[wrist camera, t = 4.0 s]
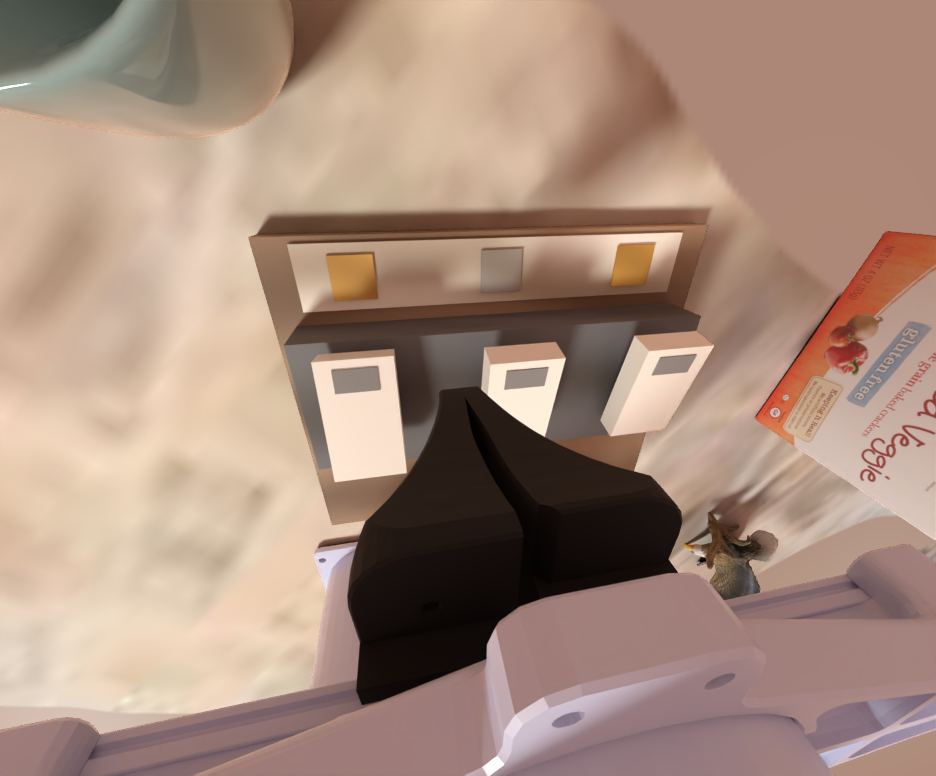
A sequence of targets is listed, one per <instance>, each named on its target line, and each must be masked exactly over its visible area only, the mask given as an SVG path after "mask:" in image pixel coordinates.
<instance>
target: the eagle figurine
mask: <svg viewBox="0 0 936 776" xmlns="http://www.w3.org/2000/svg"><path fill="white" fill-rule="evenodd" d="M708 521H709V522H708V527H709V528H708V529H709V531H710V533H711V535H712V541H713V542H712V543H708V544H704V545H697V544H696V545H687V544H684V545H683V546H685V547H686V548H688V549H689V550H690V551H691V553H693V554H696V555H699V556H702V557H705V558H706V561H704V562H701V563H699V564H697V566H700V565H703V564H707V567H708V569H712V567H713V564H714V565H715V568H716V573H715V575H714V576H713V577H712V579H711V580H710V584H711V585H712V586H713V587H714V589H715V590H716V591H717V592H718V594H719V595H720V596H721V598H722V599H723V600H728V599H733V598H737V597H742V596H747V595H751V594H756V593H760V586H759V584H758V582H757V580H756V577H755V575H754V573H753V571H752V567H751V566H750V565H749V561H750V560H752V559H753V560H759V561H764V562H766V561H769V560H770V559H771V558H772V557H773V555H774V554H775V551H776V549H777V547H778V539H777V538H775V536H774V535H773V534H772V533H768V532H766V531H761V530H758V531H756V532H754V533H753V534H752V535H751V536H750V538H749V535H748V536H747V540H746V541H743V540H739V539H737V538H735V537H734V536H732V535H731V534H730V532H731V531H735V530H737V529H738V528H739V525H738V524H734V525H732V526H731V527H723V526H722V525H721V524H720V523H719V522H718V521H717V520H716V518H715V517H714V515H713V514H712V513H711V512H709V513H708Z"/></svg>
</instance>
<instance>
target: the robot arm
mask: <svg viewBox="0 0 936 776" xmlns="http://www.w3.org/2000/svg"><path fill="white" fill-rule="evenodd" d="M681 525H682V515H681V511H680V509H679V508H678V506H677V505H676V504H675V503H674V501H673V500H672V499H671V498H670V497H669V496H668V494H667V493H666V492H665V491H664V490H663V489H662V488H661V487H660V485H659V484H658V483H657V482H656V481H655V480H654V479H653V478H652V477H651V476H649V475H646V474H642V473H638V472H634V471H631V470H627V469H623V468H620V467H616V466H613V465H610V464H607V463H604V462H601V461H598V460H595V459H592V458H590V457H587V456H584V455H582V454H579V453H577V452H575V451H572V450H570V449H568V448H566V447H564V446H561V445H559V444H557V443H555V442H553V441H551V440H550V439H548V438H546V437H544V436H542V435H541V434H539V433H537V432H535V431H534V430H532V429H531V428H529V427H527V426H526V425H525V424H523V423H522V422H520V421H519V420H517V419H516V418H515V417H513V416H512V415H510V414H509V413H508V412H507V411H505V410H504V409H503V408H502V407H500V406H499V405H498V404H497V403H496V402H495V401H494V400H492V399H491V398H490V397H489V396H488V395H487V394H486V393H485V392H483V391H482V390H481V389H480V388H479V387H478V386H473V387H464V388H454V389H444V390H441V391H440V392H439V406H438V411H437V415H436V418H435V422H434V425H433V428H432V430H431V433H430V435H429V438H428V440H427V442H426V444H425V446H424V448H423V450H422V452H421V454H420V456H419V458H418V459H417V461H416V462H415V464H414V466H413V467H412V469H411V470H410V472H409V473H408V475H407V476H406V478H405V479H404V480H403V481H402V483H401V484H400V485H399V486H398V488H397V489H396V490H395V491H394V492H393V494H392V495H391V496H390V497H389V498H388V499H387V501H386V502H385V503H384V504H383V505H382V506H381V507H380V508H379V509H378V510H377V511H376V512H375V513H374V514H373V515H372V516H371V517H370V518H369V519H367V520H366V522H365V524H364V526H363V529H362V532H361V534H360V537H359V540H358V542H353V543H346V544H340V545H333V546H327V547H320V548H318V549H316V550H315V552H314V558H315V561H316V564H317V567H318V570H319V573H320V575H321V578H322V581H323V584H324V587H325V590H326V596H325V601H324V607H323V613H322V619H321V625H320V631H319V637H318V643H317V649H316V655H315V661H314V667H313V673H312V679H311V685H310V689H309V690H304V691H299V692H295V693H290V694H285V695H281V696H276V697H271V698H267V699H262V700H257V701H253V702H248V703H243V704H239V705H234V706H229V707H225V708H220V709H215V710H211V711H206V712H201V713H197V714H192V715H188V716H183V717H178V718H174V719H169V720H164V721H160V722H155V723H151V724H146V725H141V726H137V727H132V728H127V729H122V730H118V731H113V732H109V733H104V734H99V732H98V731H97V730H96V728H95V727H94V726H93V725H92V724H90V723H89V722H87V721H84V720H82V719H79V718H68V717H66V718H56V719H51V720H46V721H41V722H36V723H32V724H26V725H22V726H17V727H12V728H7V729H3V730H0V776H834V775H833V773H832V772H831V771H830V769H829V768H831V767H833V766H836V765H839V764H841V763H844V762H846V761H849V760H852V759H855V758H858V757H860V756H863V755H866V754H868V753H871V752H874V751H877V750H879V749H882V748H885V747H887V746H890V745H893V744H896V743H899V742H901V741H904V740H907V739H910V738H913V737H916V736H919V735H922V734H925V733H927V732H931V731H934V730H936V563H935V562H934V561H933V560H931V559H930V558H928V557H927V556H925V555H924V554H923V553H921V552H920V551H918V550H917V549H915V548H914V547H913V546H911V545H907V544H902V545H897V546H893V547H887V548H882V549H878V550H873V551H870V552H867V553H865V554H863V555H861V556H859V557H858V558H857V559H856V560H855V561H854V562H853V563H852V564H851V565H850V566H849V568H848V569H847V571H846V574H845V575H840V576H835V577H831V578H826V579H821V580H817V581H813V582H807V583H803V584H798V585H793V586H789V587H784V588H780V589H775V590H770V591H766V592H761V593H756V594H751V595H747V596H742V597H737V598H733V599H728V600H723V599H722V598H721V596H720V595H719V594H718V592H717V591H716V590H715V589H714V587H713V586H712V585H711V584H710V583H709V582H708V581H706V580H705V579H704V578H702V577H701V576H699V575H697V574H693V573H678V572H677V570H676V569H675V568H674V566H673V565H672V564H671V562H670V561H669V556H670V554H671V552H672V549H673V547H674V545H675V542H676V540H677V538H678V535H679V532H680V529H681Z"/></svg>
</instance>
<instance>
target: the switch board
mask: <svg viewBox="0 0 936 776" xmlns="http://www.w3.org/2000/svg"><path fill="white" fill-rule="evenodd" d="M707 229H708V225H704V224H696V223H686V224H647V225H608V226H570V227H531V228H492V229H453V230H414V231H375V232H336V233H297V234H258V235H254V236H251V237H248V238H249V242H250V245H251V248H252V252H253V255H254V259H255V262H256V266H257V269H258V272H259V276H260V279H261V283H262V286H263V290H264V293H265V296H266V300H267V303H268V307H269V310H270V314H271V317H272V320H273V324H274V327H275V331H276V334H277V338H278V341H279V344H280V348H281V351H282V355H283V358H284V362H285V365H286V368H287V372H288V375H289V379H290V382H291V386H292V389H293V392H294V396H295V399H296V403H297V406H298V410H299V413H300V416H301V420H302V423H303V427H304V430H305V434H306V437H307V440H308V444H309V447H310V451H311V454H312V458H313V461H314V464H315V468H316V471H317V475H318V478H319V482H320V485H321V488H322V492H323V495H324V499H325V502H326V506H327V509H328V513H329V516H330V519H331V523H332V525H337V524H344V523H351V522H358V521H365V520H367V519H369V518H370V517H371V516H372V515H373V514H374V513H375V512H376V511H377V510H378V509H379V508H380V507H381V506H382V505H383V504H384V503H385V502H386V501H387V499H388V498H389V497H390V496H391V495H392V494H393V492H394V491H395V490H396V489H397V488H398V486H399V485H400V484H401V483H402V481H403V480H404V479H405V478H406V476H407V475H408V473H409V472H410V470H411V469H412V467H413V466H414V464H415V462H416V461H417V459H418V458H419V456H420V454H421V452H422V450H423V448H424V446H425V444H426V442H427V440H428V438H429V435H430V433H431V430H432V428H433V425H434V422H435V418H436V415H437V411H438V406H439V392H440V391H441V390H444V389H454V388H464V387H473V386H478V387H479V388H480V389H481V386H482V373H483V360H484V347H496V346H509V345H522V344H535V343H548V342H556V343H557V345H558V347H559V348H560V350H561V351H562V353H563V354H564V356H565V358H566V360H565V363H564V367H563V371H562V375H561V378H560V382H559V386H558V389H557V393H556V397H555V401H554V404H553V408H552V412H551V416H550V419H549V423H548V427H547V431H546V434H545V437H546V438H548V439H550V440H551V441H553V442H555V443H557V444H559V445H561V446H564V447H566V448H568V449H570V450H572V451H575V452H577V453H579V454H582V455H584V456H587V457H590V458H592V459H595V460H598V461H601V462H604V463H607V464H610V465H613V466H616V467H620V468H623V469H627V470H631V471H634V469H635V466H636V463H637V459H638V456H639V453H640V449H641V446H642V443H643V439H644V436H645V433H646V432H642V433H634V434H626V435H617V436H610V435H609V434H608V432H607V430H606V429H605V427H604V425H603V424H602V422H601V421H600V420H601V417H602V415H603V412H604V410H605V407H606V405H607V402H608V400H609V397H610V395H611V393H612V390H613V388H614V385H615V383H616V380H617V378H618V375H619V373H620V370H621V368H622V366H623V363H624V361H625V358H626V356H627V353H628V351H629V348H630V346H631V343H632V341H633V339H634V336H639V335H651V334H664V333H677V332H690V331H696V329H697V326H698V323H699V320H700V317H701V316H699V315H697V314H694V313H692V312H690V311H687V310H685V309H683V308H684V304H685V301H686V298H687V295H688V291H689V288H690V285H691V281H692V278H693V275H694V271H695V268H696V265H697V262H698V258H699V255H700V252H701V248H702V245H703V242H704V239H705V235H706V232H707ZM385 349H394V350H395V359H396V369H397V378H398V387H399V396H400V405H401V414H402V423H403V432H404V441H405V450H406V459H407V473H404V474H396V475H388V476H380V477H372V478H364V479H356V480H349V481H341V482H335V481H334V476H333V471H332V466H331V461H330V456H329V450H328V445H327V440H326V435H325V430H324V425H323V420H322V415H321V410H320V405H319V400H318V395H317V390H316V385H315V380H314V375H313V370H312V365H311V362H312V361H313V359H314V358H315V357H316V356H317V355H319V354H332V353H345V352H359V351H372V350H385Z"/></svg>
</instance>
